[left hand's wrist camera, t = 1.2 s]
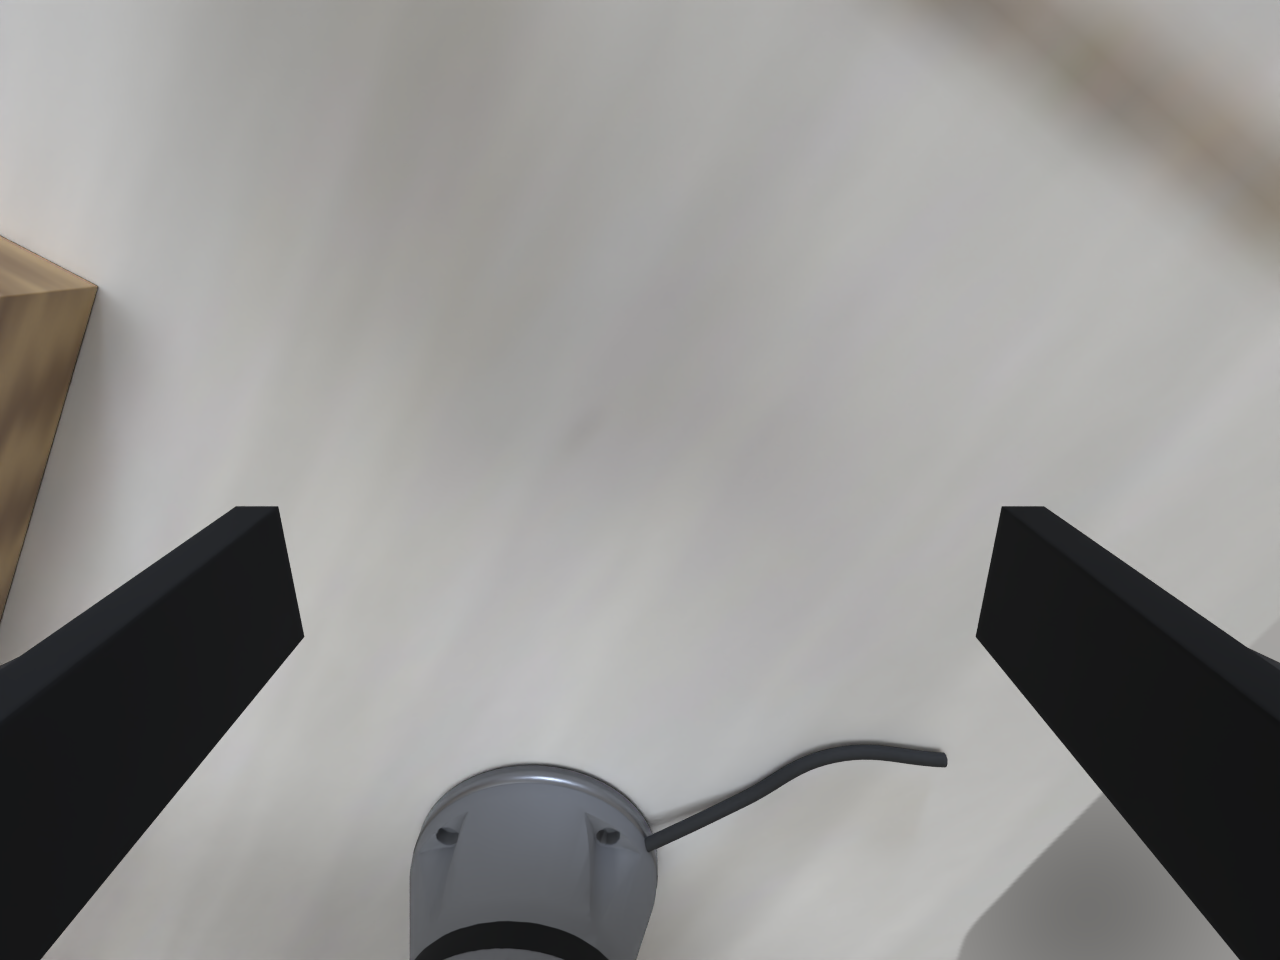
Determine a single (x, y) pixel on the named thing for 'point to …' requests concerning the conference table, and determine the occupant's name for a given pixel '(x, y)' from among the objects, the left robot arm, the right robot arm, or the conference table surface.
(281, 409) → the conference table surface
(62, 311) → the thick board
